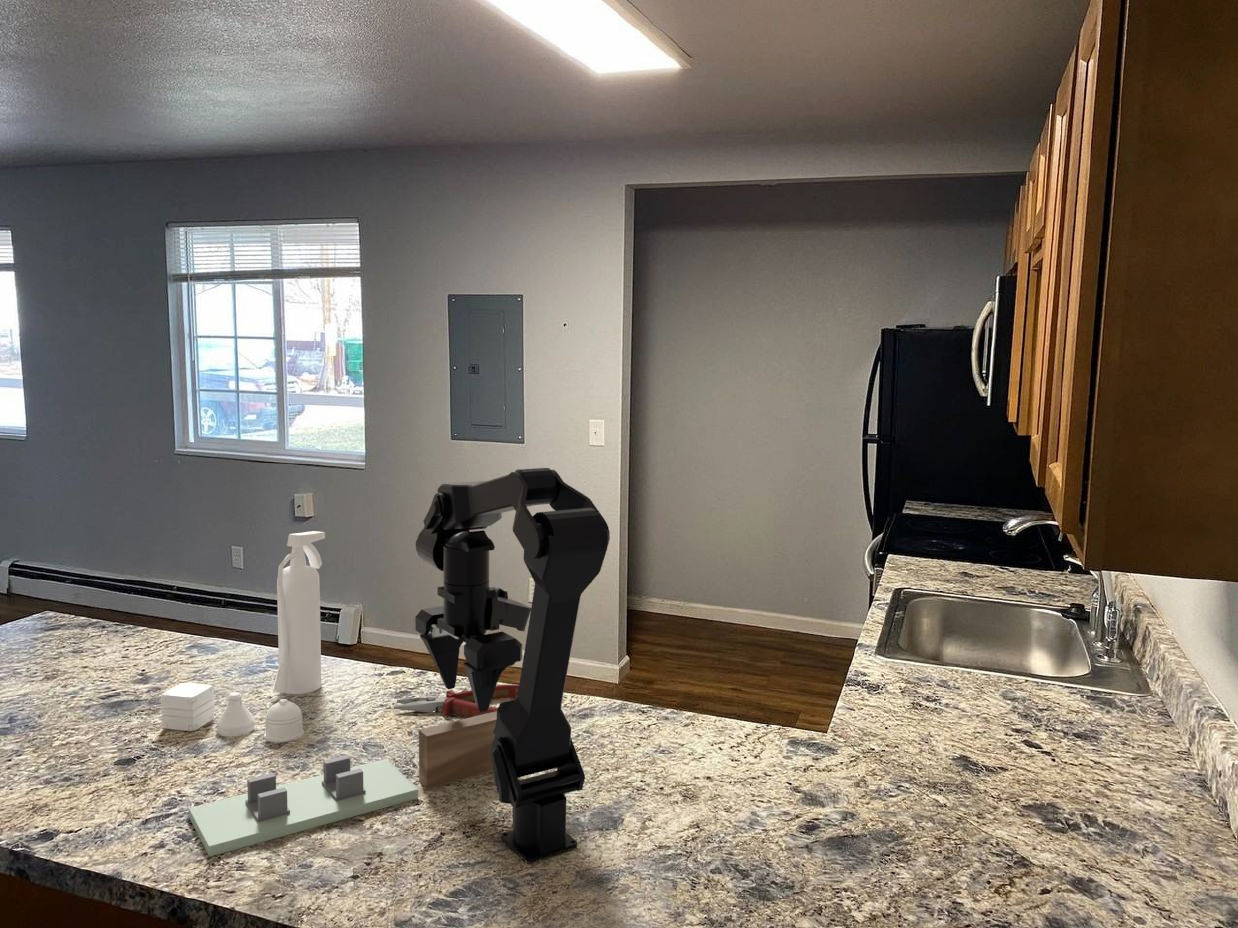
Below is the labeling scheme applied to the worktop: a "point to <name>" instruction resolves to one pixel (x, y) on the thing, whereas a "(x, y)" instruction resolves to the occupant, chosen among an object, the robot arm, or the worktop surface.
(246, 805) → the hinge base
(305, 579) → the white plastic tall bottle
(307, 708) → the worktop surface
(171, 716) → the container set
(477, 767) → the brown wooden block
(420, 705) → the pliers
